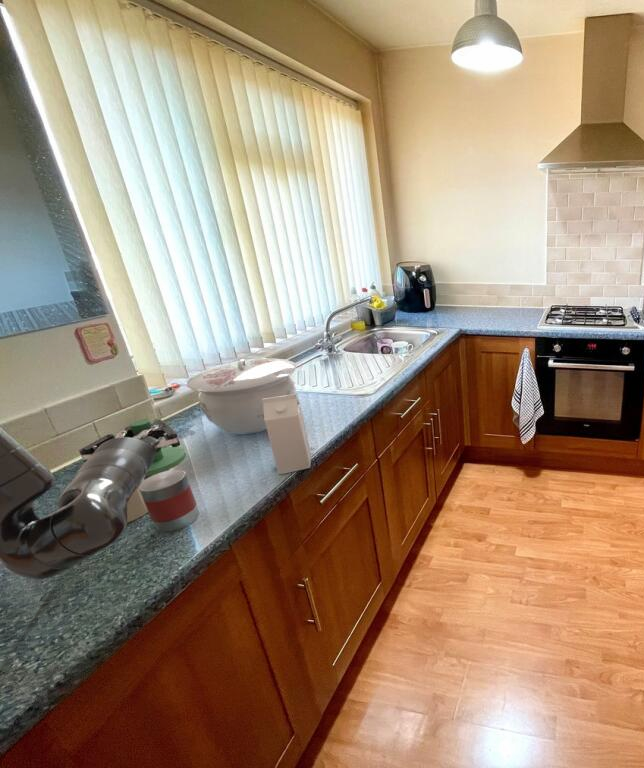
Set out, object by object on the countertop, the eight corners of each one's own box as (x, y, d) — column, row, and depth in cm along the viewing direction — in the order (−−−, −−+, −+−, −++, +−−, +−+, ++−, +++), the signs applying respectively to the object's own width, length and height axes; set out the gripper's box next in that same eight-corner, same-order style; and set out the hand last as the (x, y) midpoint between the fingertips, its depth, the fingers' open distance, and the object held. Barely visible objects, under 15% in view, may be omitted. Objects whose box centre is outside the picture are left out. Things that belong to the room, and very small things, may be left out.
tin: (151, 537, 79) (132, 495, 75) (161, 515, 85) (144, 475, 81) (196, 525, 82) (180, 484, 78) (202, 504, 88) (188, 466, 84)
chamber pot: (235, 456, 107) (213, 383, 99) (185, 431, 119) (162, 366, 112) (327, 415, 129) (315, 353, 122) (276, 398, 142) (262, 341, 134)
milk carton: (281, 460, 105) (264, 393, 97) (311, 454, 107) (296, 389, 100) (278, 475, 98) (260, 404, 91) (310, 468, 101) (295, 399, 94)
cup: (96, 530, 81) (78, 493, 78) (111, 506, 88) (95, 472, 84) (147, 517, 84) (132, 481, 81) (158, 495, 91) (144, 462, 88)
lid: (114, 483, 73) (95, 439, 69) (132, 457, 81) (116, 417, 77) (179, 469, 76) (164, 427, 73) (191, 446, 84) (177, 407, 81)
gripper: (163, 439, 66) (186, 401, 80) (44, 460, 60) (92, 415, 74) (177, 478, 68) (197, 434, 83) (65, 502, 63) (107, 450, 77)
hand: (147, 425), depth 78 cm, fingers closed on lid, 3 cm apart
